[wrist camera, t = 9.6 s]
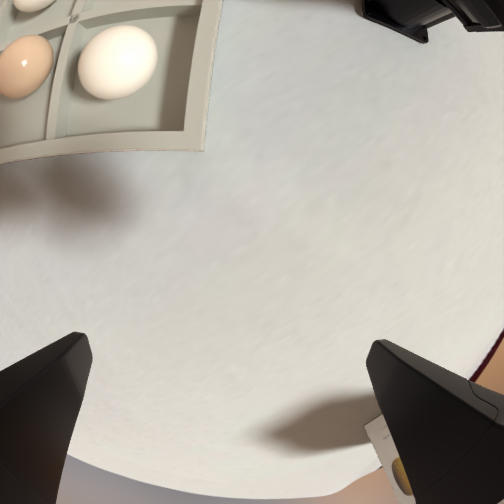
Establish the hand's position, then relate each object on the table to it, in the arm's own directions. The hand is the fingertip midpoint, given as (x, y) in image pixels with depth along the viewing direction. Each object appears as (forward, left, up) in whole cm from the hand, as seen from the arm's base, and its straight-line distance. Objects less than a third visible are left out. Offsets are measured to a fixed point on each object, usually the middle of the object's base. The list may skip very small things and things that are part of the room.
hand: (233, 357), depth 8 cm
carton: (+12, -16, -12) cm, 23 cm away
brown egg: (+16, -11, -10) cm, 22 cm away
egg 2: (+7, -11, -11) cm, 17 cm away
